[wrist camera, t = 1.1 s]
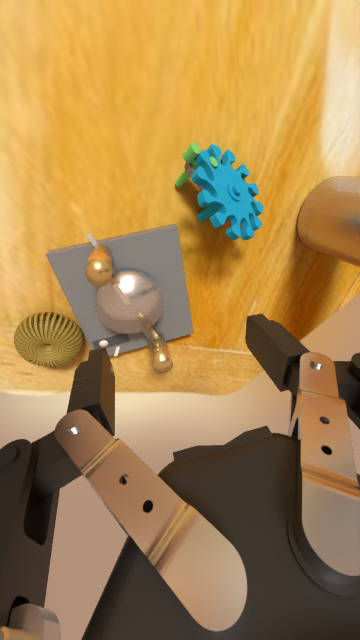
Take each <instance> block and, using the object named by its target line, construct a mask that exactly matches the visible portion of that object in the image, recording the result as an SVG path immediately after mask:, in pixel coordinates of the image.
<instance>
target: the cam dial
mask: <svg viewBox="0 0 360 640" xmlns="http://www.w3.org/2000/svg"><path fill="white" fill-rule="evenodd" d="M85 277H86V279H87V281H88V282H89V283H91V284H92V285H94V286H98V289H97V294H96V302H95V308H96V312H97V315H98V317H99V319H100V320H101V322H102V323H103V324H104V325H105V326H107V327H108V328H110V329H111V330H113V331H116V332H119V333H125V334H132V333H138V332H141V331H143V333H144V334H145V336H146V337H147V338H148V341H149V345H150V350H151V355H152V360H153V364H154V369H155V371H156V372H158V373H166V372H168V371H170V370H171V368H172V367H173V363H172V360H171V356H170V353H169V350H168V347H167V344H166V340H165V337H164V335H163V333H161V332H157V331H156V330H155V328H154V327H153V324H154V323H156V321H157V320H158V319H159V317H160V315H161V313H162V310H163V298H162V295H161V292H160V290H159V287H158V285H157V283H156V281H155V280H154V279H153V278H152V277H151V276H150V275H149V274H148V273H146V272H144V271H142V270H140V269H136V268H120V269H117V270H116V268H115V267H114V265H113V263H112V252H111V250H110V249H109V248H108V247H107V246H104V245H96V246H94V247H93V248H92V249H91V251H90V255H89V259H88V262H87V266H86V270H85Z"/></svg>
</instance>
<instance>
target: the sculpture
mask: <svg viewBox="0 0 360 640" xmlns="http://www.w3.org/2000/svg"><path fill="white" fill-rule="evenodd" d="M50 317H51V319H50ZM57 317H58V313H54V316H53V312H49V313H47V312H43V313H37V314H34V315H31V316H30V317H27V318H26V319H25V320H23V321H22V322H21V323H20V324H19V325H18V327H17V329H16V331H15V335H14V344H15V348H16V350H17V352H18V353H19V354H20V356H21V357H22V358H24V359H25V360H26V361H28V362H29V363H33V364H34V365H37V364H38V363H39V364H38V366H41V365H42V363H43V367H46V365H47V367H56V366H61V365H65V364H66V363H69V362H70V361H72V360H73V359H74V358H75V357H77V355H78V354H79V352H80V351H81V348H82V345H83V335H82V332H81V330H80V329H79V326H78V325H77V324H76V323H75V322H73V320H72V319H70V318H69V319H68V317H67V316H64V317H63V315H62V314H60V316H59V318H58V320H57ZM62 317H63V319H62ZM56 321H57V322H56ZM63 321H64V322H63ZM67 322H68V323H67ZM25 331H26V332H25Z"/></svg>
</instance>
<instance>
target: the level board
mask: <svg viewBox="0 0 360 640" xmlns="http://www.w3.org/2000/svg"><path fill="white" fill-rule="evenodd" d="M86 236H87V237H88V239H89V240H90V242H88V243H84V244H79V245H74V246H70V247H65V248H60V249H56V250H51V251H48V253H47V254H46V256H47V258H48V260H49V262H50V264H51V267H52V269H53V271H54V273H55V275H56V277H57V279H58V281H59V283H60V285H61V287H62V289H63V291H64V293H65V296H66V298H67V300H68V302H69V304H70V306H71V308H72V310H73V312H74V314H75V316H76V318H77V320H78V322H79V325H80V327H81V329H82V331H83V333H84V335H85V337H86V339H87V341H88V343H89V345H90V347H91V349H92V350H94V349H98V348H103V347H105V348H106V350H107V353H108V356H112V355H114V356H118V354H119V353H123V352H127V351H130V350H134V349H138V348H141V347H145V346H149V341H148V338H147V337H146V336H145V334H144V333H143V331H141V332H138V333H132V334H125V333H119V332H116V331H113V330H111V329H110V328H108V327H107V326H105V325H104V324H103V323H102V322H101V320H100V319H99V317H98V315H97V312H96V308H95V302H96V294H97V289H98V286H94V285H92V284H91V283H89V282H88V281H87V279H86V277H85V270H86V266H87V262H88V259H89V255H90V251H91V249H92V248H93V247H94V246H96V245H104V246H107V247H108V248H109V249H110V250H111V252H112V263H113V265H114V267H115V268H116V270H117V269H120V268H136V269H140V270H142V271H144V272H146V273H148V274H149V275H150V276H151V277H152V278H153V279H154V280H155V281H156V283H157V285H158V287H159V290H160V292H161V295H162V298H163V310H162V313H161V315H160V317H159V319H158V320H157V321H156V323H154V324H153V327H154V328H155V330H156V331H157V332H161V333H163V335H164V337H165V340H166V341H167V340H171V339H175V338H178V337H182V336H186V335H189V334H193V328H192V321H191V315H190V308H189V301H188V294H187V288H186V281H185V274H184V267H183V260H182V254H181V247H180V240H179V233H178V226H176V225H175V224H173V225H168V226H163V227H159V228H154V229H149V230H145V231H140V232H135V233H131V234H126V235H121V236H116V237H112V238H107V239H102V240H98V241H95V239H94V238H93V236H92V235H91V233H90V234H88V235H86Z"/></svg>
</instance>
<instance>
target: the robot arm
mask: <svg viewBox="0 0 360 640" xmlns="http://www.w3.org/2000/svg"><path fill="white" fill-rule="evenodd" d="M297 230H298V236H299V238H300V240H301V241H302V243H303V244H304V245H306V246H307V247H309V248H312V249H314V250H317V251H320V252H322V253H325V254H327V255H329V256H332V257H334V258H337V259H339V260H342V261H345V262H347V263H350V264H352V265H355V266H357V267H360V177H347V176H337V177H332V178H330V179H327V180H325V181H324V182H322V183H321V184H319V185H318V186H317V187H316V188H315V189H314V190H313V191H312V192H311V193H310V195H309V196H308V197H307V199H306V200H305V202H304V204H303V206H302V208H301V211H300V213H299V217H298V222H297ZM245 339H246V344H247V347H248V348H249V350H250V351H251V353H252V354H253V355H254V357H255V358H256V359H257V361H258V362H259V363H260V365H261V366H262V367H263V369H264V370H265V371H266V373H267V374H268V375H269V377H270V378H271V379H272V381H273V382H274V384H275V385H276V386H277V388H278V389H279V390H280V391H281V392H282V391H285V390H290V392H291V398H290V413H289V428H288V435H283V434H279V433H271V432H270V430H269V428H268V427H267V426H264V427H261V428H257V429H254V430H250V431H247V432H244V433H242V434H241V435H239V436H238V437H236V438H235V439H233V440H231V441H230V442H228V443H227V444H225V445H214V446H213V445H212V446H194V447H191V448H187V449H184V450H180V451H177V452H174V453H173V456H174V461H172V462H171V463H169V464H168V465H167V466H166V467H164V469H162V470H161V472H160V473H159V474H158V475H156V474H155V473H154V472H153V471H152V470H151V469H150V468H149V467H148V466H147V465H146V464H145V463H144V462H143V461H142V460H141V459H140V458H139V457H138V456H137V455H136V454H135V453H134V452H133V451H132V450H131V449H130V448H129V447H128V446H127V445H126V444H125V443H124V442H123V441H121V440H120V439H115V438H114V437H113V436H114V435H115V375H114V370H113V367H112V364H111V361H110V359H109V356H108V353H107V350H106V348H105V347H103V348H98V349H94V350H90V351H89V358H88V361H85V362H81V363H80V365H79V366H78V368H77V369H76V370H75V375H74V380H73V385H72V386H73V387H72V390H71V395H70V400H69V405H68V410H67V414H66V415H65V416H64V417H63V418H62V419H61V420H60V421H59V422H58V423H57V425H56V428H55V430H54V431H53V432H51V433H50V434H48V435H46V436H44V437H42V438H41V439H39V440H37V441H35V442H33V443H30V442H29V441H28V440H25V439H19V440H15V441H12V442H10V443H8V444H7V445H5V446H4V447H3V448H1V449H0V640H61V635H60V634H61V633H60V623H59V620H58V618H57V616H56V614H55V613H54V612H52V611H51V610H48V609H45V608H44V603H45V596H46V587H47V581H48V573H49V565H50V558H51V551H52V543H53V535H54V528H55V520H56V513H57V506H58V498H59V490H60V488H61V487H63V486H65V485H66V484H68V483H70V482H71V481H73V480H74V479H76V478H78V477H79V476H81V475H83V477H84V478H85V479H86V481H87V482H88V483H89V484H90V486H91V487H92V489H93V490H94V491H95V493H96V494H97V495H98V496H99V498H100V499H101V500H102V502H103V503H104V505H105V506H106V507H107V509H108V510H109V511H110V513H111V514H112V515H113V517H114V518H115V519H116V521H117V522H118V523H119V525H120V526H121V527H122V529H123V530H124V531H125V533H126V534H127V535H128V537H127V539H126V542H125V544H124V546H123V548H122V550H121V553H120V555H119V557H118V560H117V562H116V564H115V566H114V568H113V571H112V573H111V575H110V577H109V579H108V582H107V584H106V586H105V588H104V591H103V593H102V595H101V597H100V599H99V602H98V604H97V606H96V608H95V611H94V613H93V615H92V617H91V619H90V622H89V624H88V626H87V628H86V630H85V633H84V635H83V637H82V640H360V475H359V474H357V473H356V467H355V461H354V454H353V449H352V441H351V435H350V429H349V422H348V417H349V418H350V419H351V420H352V421H353V422H354V423H355V425H356V426H357V427H358V428H359V429H360V353H357V354H354V355H353V357H352V359H351V361H346V362H345V361H332V360H331V359H330V358H328V357H327V356H325V355H323V354H320V353H315V352H310V351H309V350H307V349H306V348H305V347H304V346H303V345H302V344H301V343H300V342H299V341H298V340H297V339H296V338H295V337H294V336H292V334H291V333H289V332H288V331H287V330H286V329H285V328H284V327H283V326H282V325H281V324H279V323H277V322H275V321H273V320H271V321H269V320H268V319H267V318H266V317H265V316H264V315H263V314H257V315H252V316H248V317H247V323H246V337H245Z"/></svg>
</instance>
